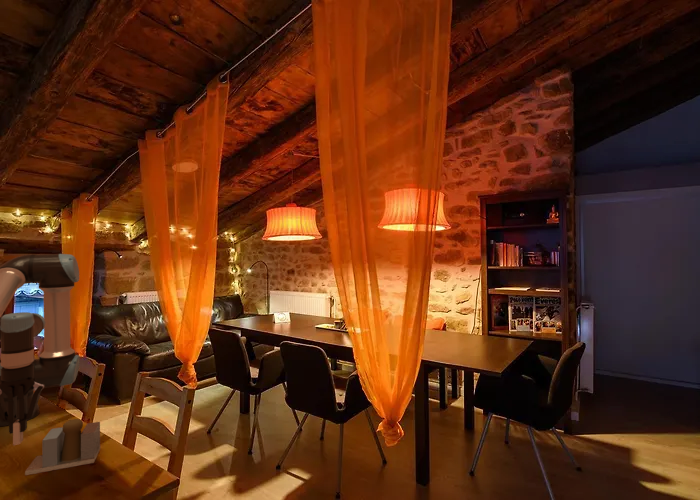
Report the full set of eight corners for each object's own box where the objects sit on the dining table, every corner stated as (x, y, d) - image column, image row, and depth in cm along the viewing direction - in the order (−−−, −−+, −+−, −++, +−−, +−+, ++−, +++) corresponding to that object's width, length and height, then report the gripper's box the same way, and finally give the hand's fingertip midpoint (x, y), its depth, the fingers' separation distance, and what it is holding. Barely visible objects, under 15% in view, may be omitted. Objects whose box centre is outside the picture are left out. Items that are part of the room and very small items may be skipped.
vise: (36, 459, 119) (36, 430, 120) (100, 448, 126) (100, 421, 126) (25, 475, 111) (25, 443, 111) (94, 462, 118) (94, 432, 118)
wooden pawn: (88, 453, 121) (88, 418, 121) (66, 463, 115) (66, 426, 115) (78, 449, 124) (78, 415, 124) (56, 458, 118) (56, 422, 118)
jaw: (51, 454, 121) (51, 428, 121) (64, 451, 122) (64, 426, 122) (42, 467, 113) (42, 440, 113) (56, 464, 115) (56, 438, 115)
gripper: (48, 358, 121) (48, 433, 121) (-5, 363, 116) (-4, 441, 116) (40, 365, 114) (40, 444, 114) (-17, 371, 109) (-16, 453, 109)
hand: (18, 442), depth 115 cm, fingers closed
